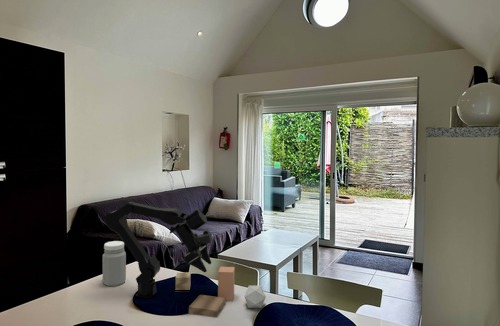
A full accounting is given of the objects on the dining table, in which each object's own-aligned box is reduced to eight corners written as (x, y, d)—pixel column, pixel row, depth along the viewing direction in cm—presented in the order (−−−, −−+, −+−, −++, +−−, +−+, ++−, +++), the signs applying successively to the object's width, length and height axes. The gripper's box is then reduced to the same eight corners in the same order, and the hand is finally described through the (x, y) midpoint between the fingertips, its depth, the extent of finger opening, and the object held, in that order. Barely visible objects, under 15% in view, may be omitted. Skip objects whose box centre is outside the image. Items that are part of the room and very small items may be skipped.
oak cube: (175, 291, 151) (175, 277, 150) (176, 285, 157) (176, 272, 156) (189, 291, 151) (189, 277, 151) (190, 285, 157) (190, 272, 157)
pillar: (217, 300, 142) (218, 271, 142) (220, 294, 148) (220, 266, 148) (232, 301, 142) (233, 272, 141) (234, 295, 148) (234, 267, 147)
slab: (188, 314, 131) (188, 306, 131) (199, 301, 142) (199, 294, 142) (216, 318, 129) (216, 310, 129) (225, 305, 140) (225, 298, 139)
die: (258, 315, 132) (271, 292, 135) (239, 302, 134) (252, 279, 136) (257, 313, 140) (269, 291, 143) (239, 300, 141) (252, 279, 144)
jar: (117, 276, 165) (117, 239, 164) (130, 282, 160) (130, 243, 158) (98, 283, 157) (97, 243, 156) (110, 289, 152) (110, 248, 151)
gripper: (197, 231, 134) (220, 265, 134) (207, 220, 153) (227, 250, 152) (173, 246, 135) (196, 280, 135) (187, 234, 154) (207, 263, 154)
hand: (208, 267), depth 144 cm, fingers open, 9 cm apart
